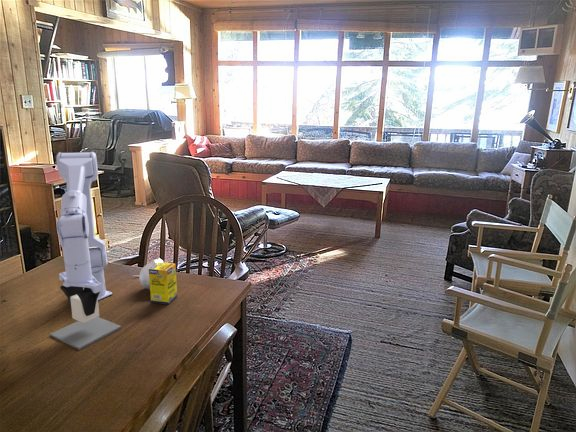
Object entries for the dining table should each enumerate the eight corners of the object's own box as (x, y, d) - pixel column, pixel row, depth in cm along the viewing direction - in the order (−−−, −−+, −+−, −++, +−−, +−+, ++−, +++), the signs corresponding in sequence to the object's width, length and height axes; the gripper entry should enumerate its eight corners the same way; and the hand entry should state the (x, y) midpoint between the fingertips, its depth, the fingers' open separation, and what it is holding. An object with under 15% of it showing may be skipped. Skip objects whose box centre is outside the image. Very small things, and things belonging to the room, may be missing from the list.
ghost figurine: (169, 294, 131) (167, 264, 128) (138, 295, 129) (135, 265, 127) (172, 282, 139) (170, 254, 137) (143, 283, 138) (140, 255, 135)
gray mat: (50, 336, 106) (50, 333, 106) (92, 316, 116) (92, 314, 116) (79, 350, 101) (79, 347, 100) (121, 328, 111) (121, 326, 110)
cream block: (72, 318, 107) (70, 296, 106) (88, 311, 111) (86, 290, 109) (83, 322, 105) (81, 300, 103) (99, 315, 108) (97, 294, 107)
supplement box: (169, 305, 124) (166, 270, 121) (150, 302, 125) (147, 268, 122) (178, 296, 129) (176, 263, 126) (160, 294, 130) (157, 261, 128)
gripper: (44, 261, 104) (52, 310, 107) (80, 273, 97) (87, 326, 100) (71, 252, 110) (77, 300, 113) (107, 263, 102) (112, 313, 106)
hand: (83, 311), depth 107 cm, fingers closed on cream block, 4 cm apart
